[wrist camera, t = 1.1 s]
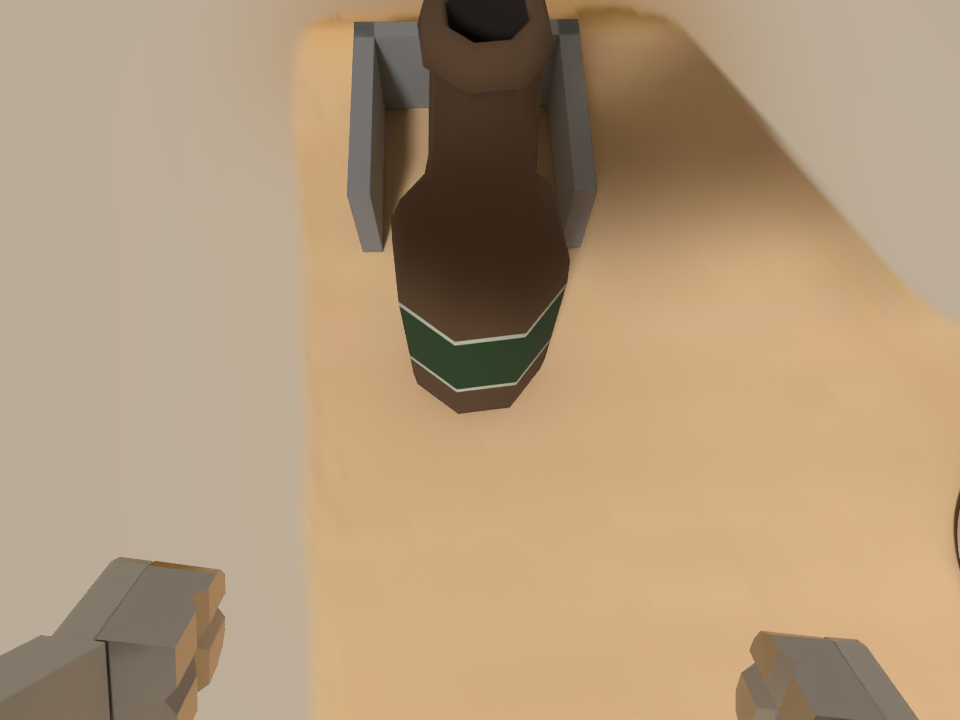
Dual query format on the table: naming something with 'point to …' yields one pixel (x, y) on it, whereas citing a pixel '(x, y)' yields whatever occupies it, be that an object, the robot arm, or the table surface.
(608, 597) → the table surface
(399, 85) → the bottle stall
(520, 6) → the beer bottle
